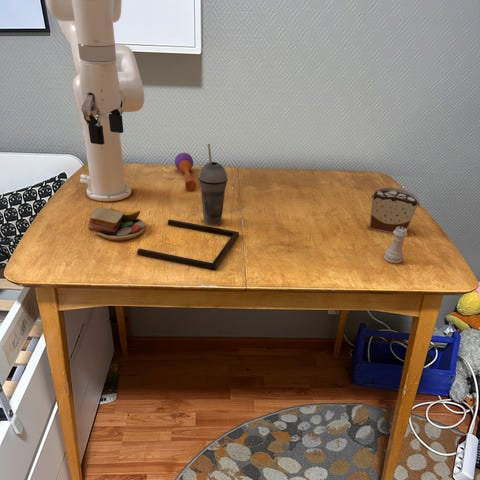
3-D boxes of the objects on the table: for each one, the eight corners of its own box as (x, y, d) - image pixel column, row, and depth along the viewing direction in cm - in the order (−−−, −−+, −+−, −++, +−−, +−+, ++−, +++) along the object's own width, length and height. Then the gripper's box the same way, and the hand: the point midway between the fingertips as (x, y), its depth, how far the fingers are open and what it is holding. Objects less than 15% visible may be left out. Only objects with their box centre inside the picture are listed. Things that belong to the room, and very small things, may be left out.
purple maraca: (179, 178, 137) (172, 151, 151) (183, 196, 141) (176, 169, 156) (198, 174, 137) (190, 148, 152) (202, 192, 141) (193, 165, 156)
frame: (137, 254, 108) (137, 250, 107) (169, 223, 122) (169, 219, 121) (214, 270, 104) (215, 265, 103) (238, 236, 118) (239, 231, 117)
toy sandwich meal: (133, 245, 111) (131, 227, 109) (81, 237, 113) (78, 219, 111) (153, 223, 121) (152, 206, 118) (105, 216, 123) (102, 199, 120)
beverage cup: (222, 229, 121) (224, 150, 109) (195, 225, 122) (194, 147, 110) (229, 217, 126) (231, 141, 114) (202, 214, 127) (202, 138, 115)
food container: (412, 227, 127) (422, 191, 121) (410, 236, 123) (421, 200, 116) (366, 218, 130) (374, 183, 124) (363, 227, 125) (371, 191, 119)
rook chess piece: (380, 255, 114) (388, 224, 109) (398, 255, 114) (407, 224, 109) (386, 264, 110) (395, 233, 105) (405, 264, 110) (414, 233, 106)
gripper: (100, 47, 106) (109, 126, 116) (59, 58, 92) (73, 146, 103) (131, 50, 104) (137, 129, 115) (94, 61, 91) (105, 150, 101)
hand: (107, 137), depth 109 cm, fingers open, 9 cm apart
